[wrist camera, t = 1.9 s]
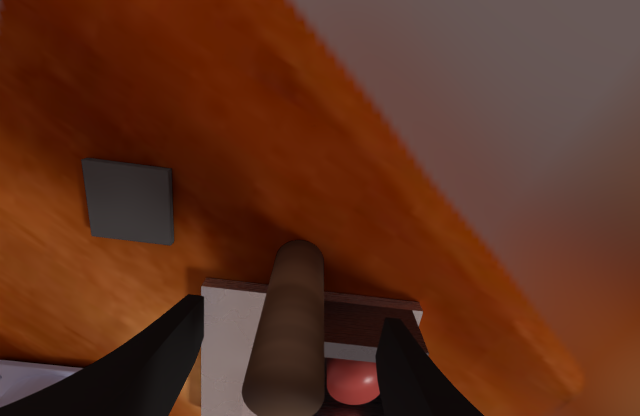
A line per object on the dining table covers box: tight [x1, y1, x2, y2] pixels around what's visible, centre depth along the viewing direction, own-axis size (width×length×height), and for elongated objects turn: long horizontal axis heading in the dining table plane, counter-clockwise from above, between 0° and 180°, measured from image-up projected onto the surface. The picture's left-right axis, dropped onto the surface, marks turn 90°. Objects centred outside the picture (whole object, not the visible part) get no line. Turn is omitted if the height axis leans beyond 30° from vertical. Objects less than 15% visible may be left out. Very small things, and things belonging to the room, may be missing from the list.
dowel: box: [242, 240, 325, 416], centre depth 14 cm, size 3×3×8 cm
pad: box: [81, 158, 174, 245], centre depth 16 cm, size 4×4×1 cm
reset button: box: [327, 357, 380, 405], centre depth 17 cm, size 3×3×2 cm
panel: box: [201, 278, 429, 416], centre depth 19 cm, size 10×12×4 cm
